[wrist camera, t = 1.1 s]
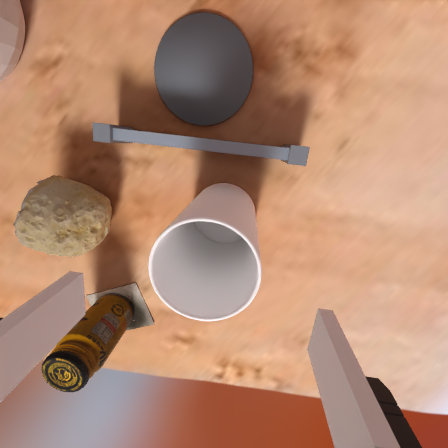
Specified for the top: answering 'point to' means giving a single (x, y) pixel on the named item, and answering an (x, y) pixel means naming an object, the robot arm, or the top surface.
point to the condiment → (95, 337)
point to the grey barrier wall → (199, 143)
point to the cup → (209, 256)
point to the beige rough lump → (63, 217)
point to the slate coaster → (203, 69)
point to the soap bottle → (10, 35)
